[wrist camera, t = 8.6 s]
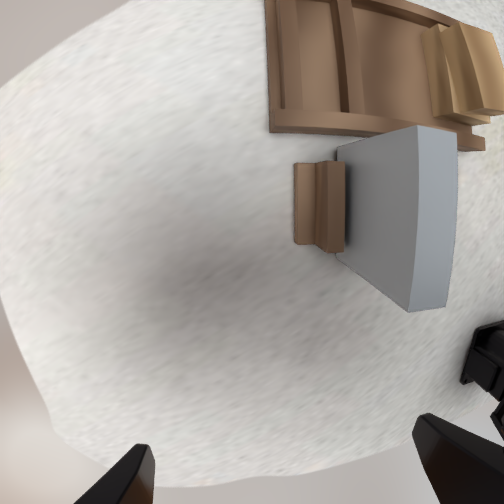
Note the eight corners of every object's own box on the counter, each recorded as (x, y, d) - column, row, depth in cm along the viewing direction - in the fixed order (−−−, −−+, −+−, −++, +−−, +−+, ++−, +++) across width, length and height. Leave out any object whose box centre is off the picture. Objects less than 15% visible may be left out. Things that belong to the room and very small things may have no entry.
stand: (391, 168, 19) (418, 167, 16) (389, 238, 21) (415, 249, 17) (294, 163, 19) (307, 160, 16) (294, 241, 20) (307, 253, 17)
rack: (448, 32, 17) (464, 23, 15) (465, 151, 19) (485, 150, 17) (264, -6, 16) (268, -25, 14) (269, 132, 18) (275, 125, 16)
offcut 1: (457, 48, 17) (475, 39, 14) (469, 126, 18) (490, 123, 16) (420, 34, 16) (437, 23, 14) (432, 117, 18) (453, 112, 15)
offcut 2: (471, 42, 14) (491, 33, 12) (491, 116, 16) (514, 112, 13) (438, 33, 14) (458, 21, 12) (460, 112, 15) (484, 107, 13)
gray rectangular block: (365, 149, 18) (456, 133, 9) (364, 256, 20) (445, 306, 11) (337, 147, 18) (417, 125, 9) (336, 257, 20) (407, 312, 11)
